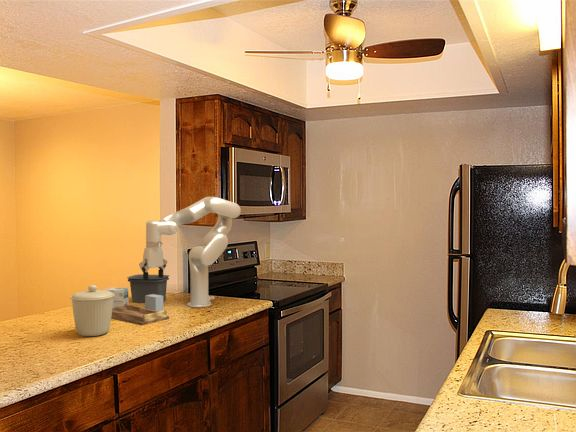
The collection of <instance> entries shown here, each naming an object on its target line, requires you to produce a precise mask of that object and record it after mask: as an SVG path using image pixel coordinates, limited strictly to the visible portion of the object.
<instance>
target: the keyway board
mask: <svg viewBox="0 0 576 432" xmlns="http://www.w3.org/2000/svg"><path fill="white" fill-rule="evenodd" d="M169 319H170V316H169V315H168V310H165V309H163V311H156V310H150V309H145V306H138V305H133V304H129V305H124V306H119V307H114V308H112V316H111V320H117V321H120V322H121V321H122V322H126V323H130V324H134V325H140V326H144V325H145V326H146V325H149V324H153V323H154V324H155V323H157V322H158V323H159V322H162V321H165V320H169Z"/></svg>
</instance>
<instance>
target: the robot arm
mask: <svg viewBox="0 0 576 432" xmlns="http://www.w3.org/2000/svg"><path fill="white" fill-rule="evenodd" d="M211 213H214V214H217V222H216V223H215V224H214V226H213V227H211V229H210V230H209V231H208V232H207V233H206V235H205V236H204V237H203V241H202V242H203V245H204V246H201V245H200V246H197V245H196V246H193V248H191V249H190V251H189V252H188V261H189V262H188V263H189V273H190V274H189V275H190V276H189V277H190V280H189V281H190V283H189V284H190V285H189V286H190V291H189V292H190V301H189V302H187V307H190V308H206V307H210V306H211V305H212V302H211V300H215V296H214V295H211V296H210V295H209V266H211V265H213V264H214V263H215V262H216V261H217V260H218V258H219V257H221V255H222V254H223V253H224V252H225V250H226V249H227V247H228V244H229V239H228V234H229V233H230V232H231V229H232V225H233V219H236V218H238V217H240V215H241V213H242V209H241V207H240V205H239V204H238V203H236V202H233V201H230V200H227V199H223V198H220V197H219V196H218V197H217V196H205V197H204V198H201V199H200V200H198V201H196V202H193V203H192V204H191V205H189V206H187V207H184V208H182V209H180V210H177V211H176V212H173V213H171V214H168V215H167V216H165V217H164V218H163V217H162V219H160V220H148V221H146V223H145V247H144V250H143V253H142V254H143V255H142V261H141V262H139V263H138V266H139V269H140V270H141V271H142V273H143V279H144V280H148V275H149V270H150V269H152V268H153V269H154V268H158V273H157V275H158V277H159V278H163V275H164V270H166V269H165V268H166V267H167V264H168V260H166V259H164V251H163V247H162V245H163V242H162V235H165V236H172V235H175V234H176V233H177V232H178V229H179V226H182V225H186V224H192V223H195V222H196V221H198V220H200V219H201V218H203V217H205V216H207V215H208V214H211Z"/></svg>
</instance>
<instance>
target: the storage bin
mask: <svg viewBox="0 0 576 432" xmlns="http://www.w3.org/2000/svg"><path fill="white" fill-rule="evenodd" d="M126 278H127V282H129V287H130V294H131V302H132V303H139V304H141V303H144V304H145V296H146V295H151V294H155V295H161V296H163V302H165V301H166V298H167V283H168V281H169V280H170V275H168V274H163V278H159V277H158V274H148V280H144V279H143V274H139V273H138V274H133V275H130V276H127V277H126Z"/></svg>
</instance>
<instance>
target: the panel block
mask: <svg viewBox="0 0 576 432" xmlns="http://www.w3.org/2000/svg"><path fill="white" fill-rule="evenodd" d="M144 305H145V306H144V308H145V309H150V310H156V311H164V301H163V296H161V295H155V294H151V295H146V296H145V303H144Z"/></svg>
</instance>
